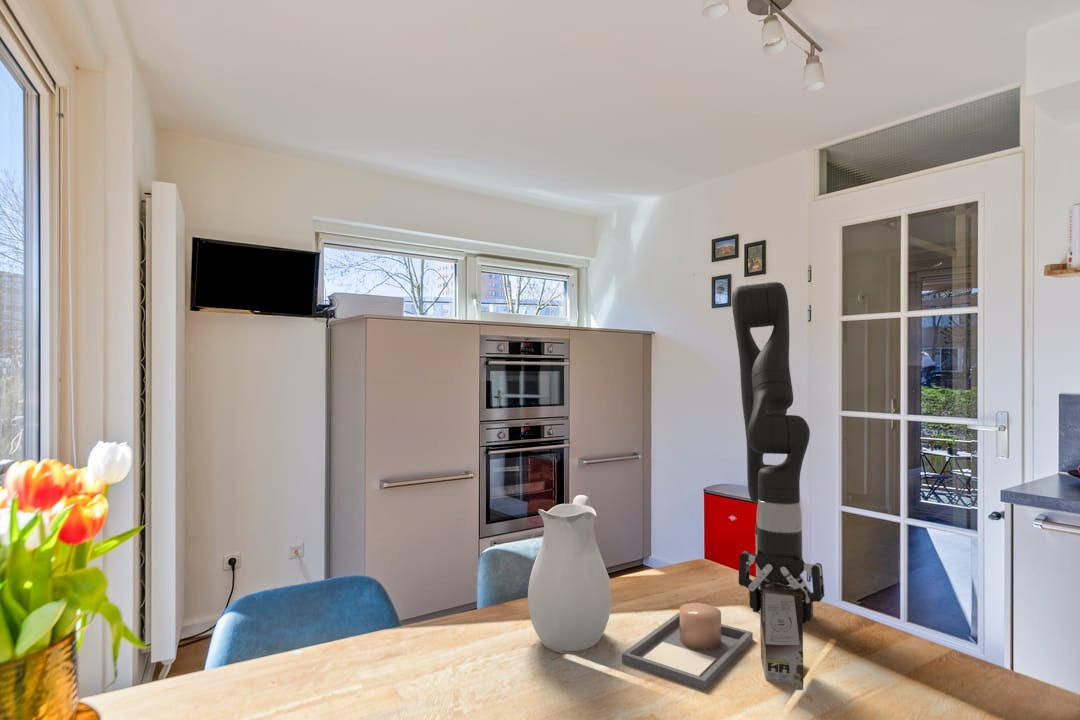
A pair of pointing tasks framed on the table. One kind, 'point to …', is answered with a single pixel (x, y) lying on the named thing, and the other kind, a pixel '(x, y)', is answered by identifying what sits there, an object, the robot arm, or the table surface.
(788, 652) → the coffee box
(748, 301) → the robot arm
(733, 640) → the serving tray
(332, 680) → the table surface
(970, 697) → the table surface
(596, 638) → the pitcher
